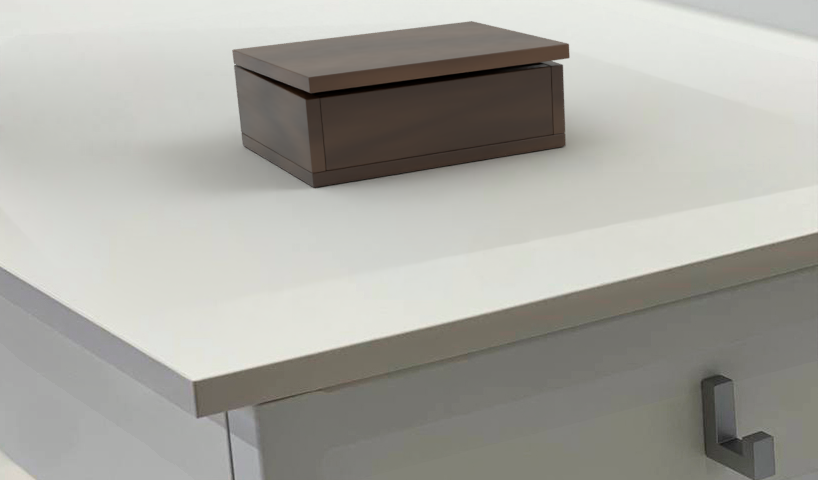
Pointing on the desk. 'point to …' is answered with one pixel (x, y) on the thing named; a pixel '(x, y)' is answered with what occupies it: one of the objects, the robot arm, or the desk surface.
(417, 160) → the chest
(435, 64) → the chest lid
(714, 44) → the desk surface
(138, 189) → the desk surface
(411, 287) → the desk surface
